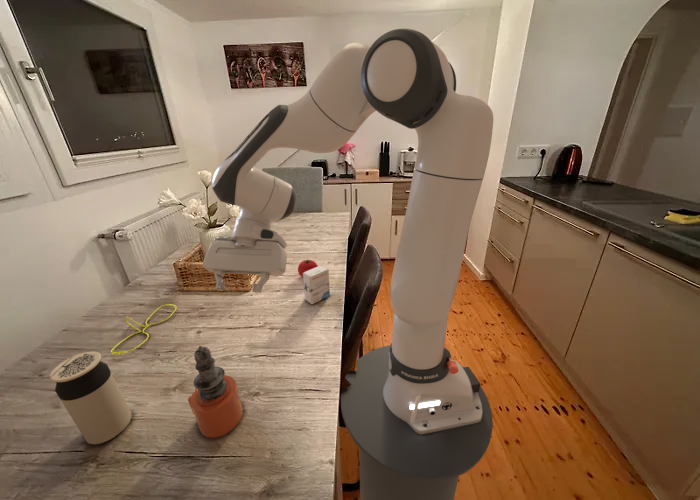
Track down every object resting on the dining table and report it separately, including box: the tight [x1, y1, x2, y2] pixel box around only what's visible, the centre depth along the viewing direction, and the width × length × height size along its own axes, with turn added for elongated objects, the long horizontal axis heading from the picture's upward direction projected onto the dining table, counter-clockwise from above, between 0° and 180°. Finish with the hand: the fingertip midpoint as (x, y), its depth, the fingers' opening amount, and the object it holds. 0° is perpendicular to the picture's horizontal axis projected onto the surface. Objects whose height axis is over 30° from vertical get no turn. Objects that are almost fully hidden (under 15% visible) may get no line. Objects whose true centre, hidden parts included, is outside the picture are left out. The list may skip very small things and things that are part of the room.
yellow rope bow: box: [110, 303, 178, 356], centre depth 91 cm, size 25×10×5 cm, turn 178°
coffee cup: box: [187, 374, 244, 439], centre depth 61 cm, size 10×9×9 cm
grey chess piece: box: [193, 345, 227, 401], centre depth 57 cm, size 6×6×12 cm
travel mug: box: [49, 351, 132, 445], centre depth 58 cm, size 8×8×18 cm
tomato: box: [297, 259, 319, 278], centre depth 121 cm, size 9×9×8 cm
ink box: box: [302, 265, 331, 305], centre depth 104 cm, size 9×5×12 cm, turn 132°
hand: (237, 291), depth 66 cm, fingers open, 8 cm apart
